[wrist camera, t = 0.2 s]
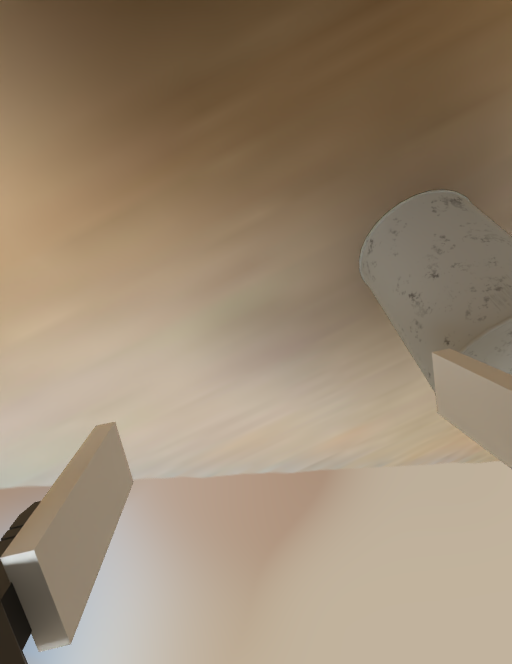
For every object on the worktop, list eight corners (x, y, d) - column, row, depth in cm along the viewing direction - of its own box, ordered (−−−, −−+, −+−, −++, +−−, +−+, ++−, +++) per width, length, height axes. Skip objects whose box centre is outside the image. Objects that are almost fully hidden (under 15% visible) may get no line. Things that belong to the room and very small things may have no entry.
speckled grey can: (498, 221, 30) (633, 329, 22) (410, 305, 35) (490, 419, 27) (424, 165, 25) (558, 276, 17) (334, 272, 31) (403, 397, 22)
